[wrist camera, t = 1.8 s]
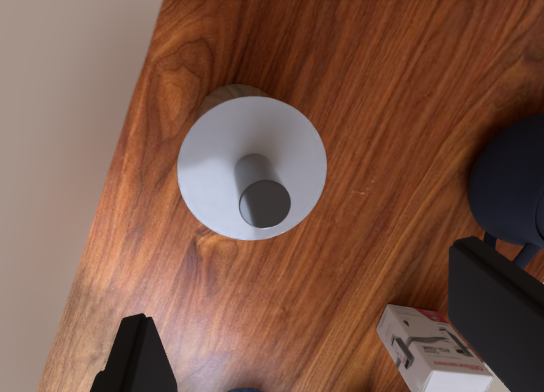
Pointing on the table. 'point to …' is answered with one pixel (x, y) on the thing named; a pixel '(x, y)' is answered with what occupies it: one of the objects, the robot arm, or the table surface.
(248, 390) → the pot
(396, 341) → the ink box
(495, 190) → the teapot
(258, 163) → the lid
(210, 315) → the table surface
